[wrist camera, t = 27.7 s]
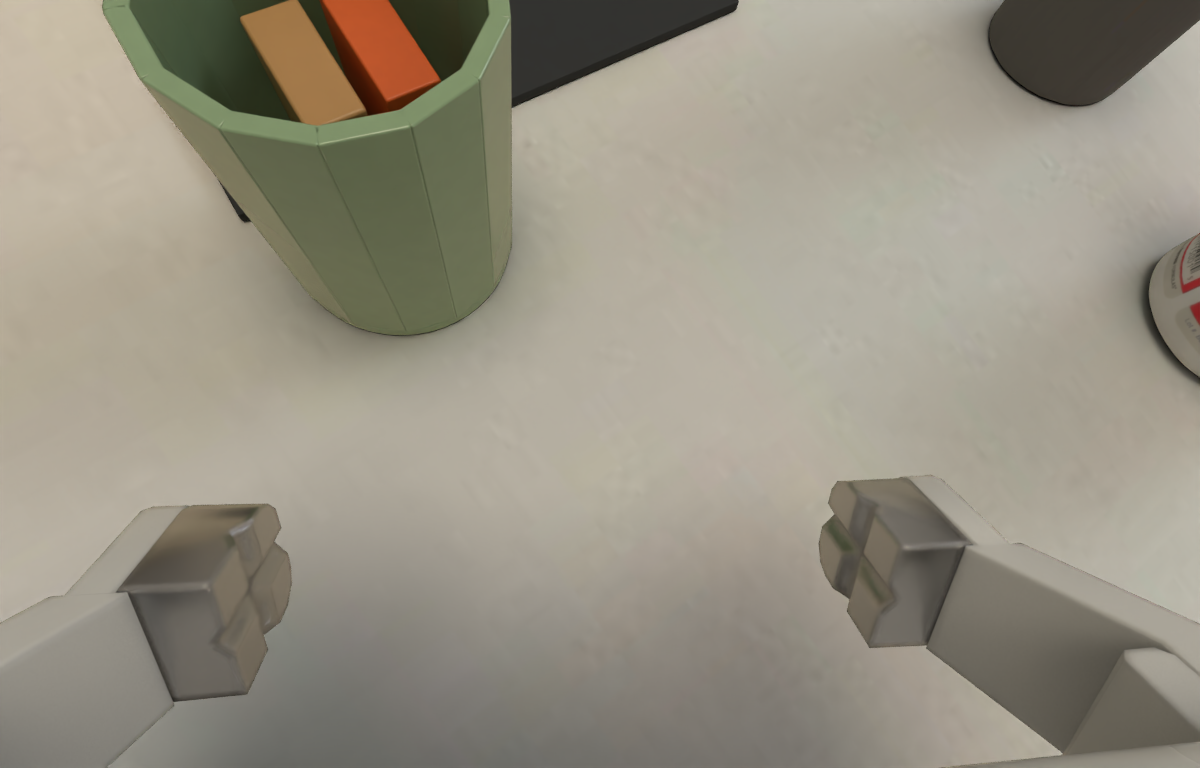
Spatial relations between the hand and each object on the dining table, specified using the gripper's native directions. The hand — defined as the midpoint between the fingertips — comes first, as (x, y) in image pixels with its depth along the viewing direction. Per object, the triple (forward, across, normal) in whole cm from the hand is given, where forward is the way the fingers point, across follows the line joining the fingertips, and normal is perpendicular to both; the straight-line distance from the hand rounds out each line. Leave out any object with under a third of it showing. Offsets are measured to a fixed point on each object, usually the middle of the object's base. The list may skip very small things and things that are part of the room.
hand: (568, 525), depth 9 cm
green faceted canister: (+13, +4, -1) cm, 13 cm away
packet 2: (+12, +4, -2) cm, 13 cm away
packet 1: (+12, +5, -1) cm, 13 cm away
